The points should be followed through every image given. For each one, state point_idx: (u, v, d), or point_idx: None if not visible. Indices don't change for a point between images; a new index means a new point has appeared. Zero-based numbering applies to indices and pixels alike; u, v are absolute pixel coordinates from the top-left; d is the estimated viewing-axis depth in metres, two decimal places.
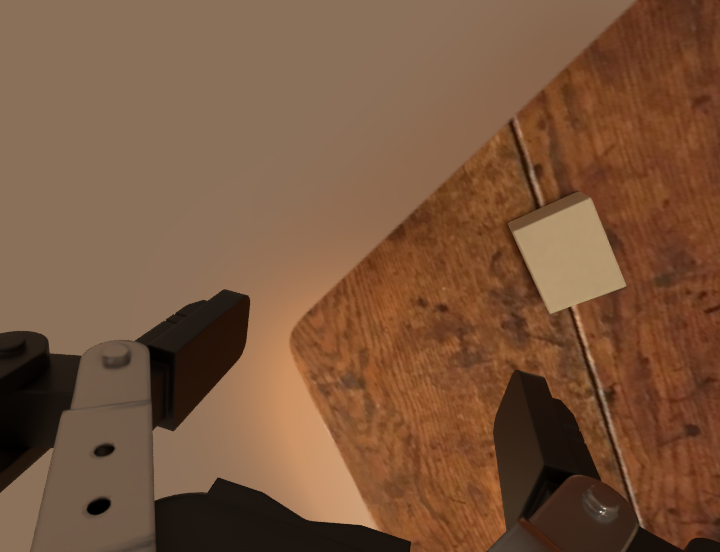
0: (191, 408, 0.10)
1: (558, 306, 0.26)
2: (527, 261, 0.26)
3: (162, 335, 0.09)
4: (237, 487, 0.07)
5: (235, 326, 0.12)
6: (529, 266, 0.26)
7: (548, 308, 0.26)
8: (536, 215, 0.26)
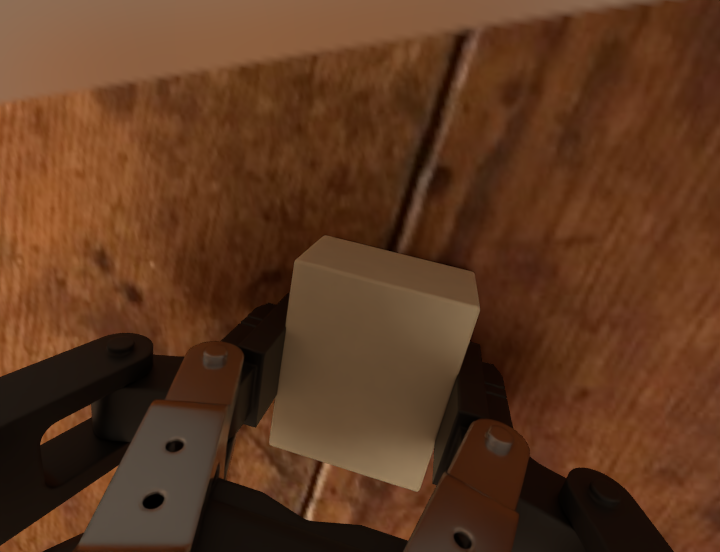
0: (267, 406, 0.11)
1: (289, 444, 0.12)
2: (287, 334, 0.11)
3: (247, 337, 0.10)
4: (237, 487, 0.07)
5: None
6: (284, 346, 0.11)
7: (271, 435, 0.12)
8: (370, 261, 0.11)
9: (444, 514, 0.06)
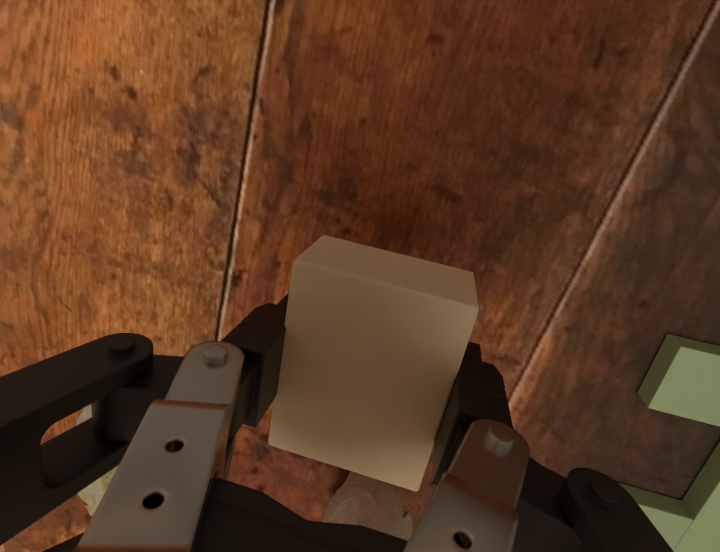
0: (267, 406, 0.11)
1: (288, 443, 0.12)
2: (286, 334, 0.11)
3: (247, 337, 0.10)
4: (237, 487, 0.07)
5: None
6: None
7: (270, 434, 0.12)
8: (369, 261, 0.11)
9: (444, 514, 0.06)
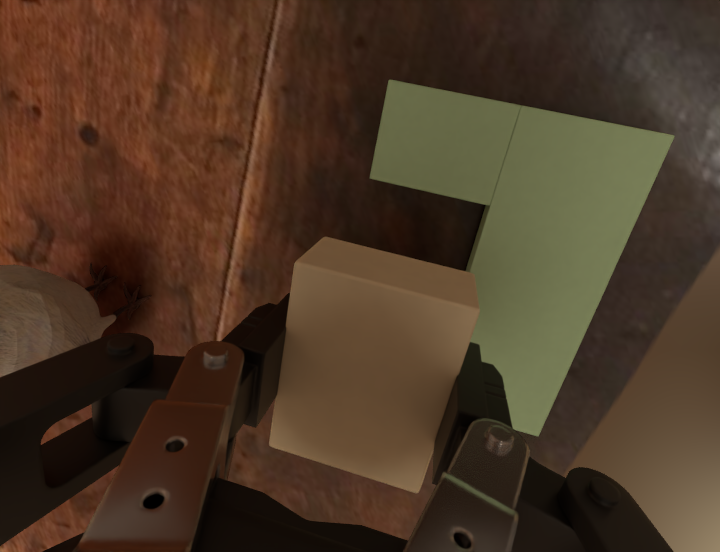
0: (268, 406, 0.11)
1: (289, 445, 0.12)
2: (287, 335, 0.11)
3: (248, 337, 0.10)
4: (237, 487, 0.07)
5: None
6: (284, 347, 0.11)
7: (271, 436, 0.12)
8: (370, 262, 0.11)
9: (444, 514, 0.06)
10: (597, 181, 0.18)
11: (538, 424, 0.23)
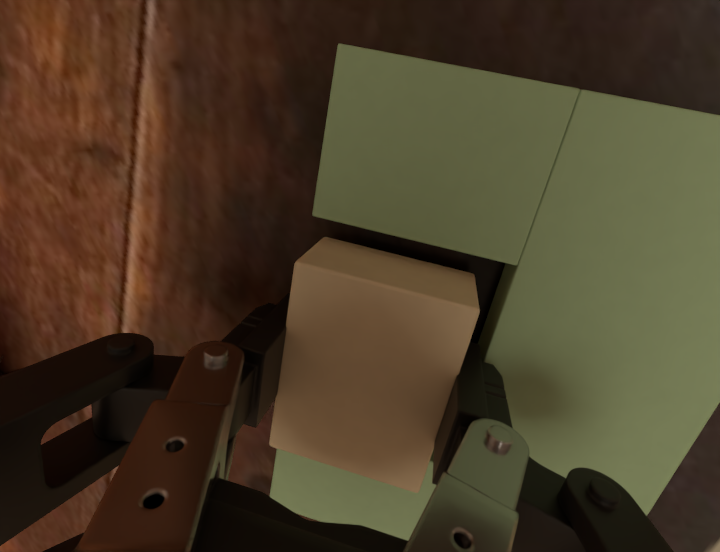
0: (268, 406, 0.11)
1: (289, 445, 0.12)
2: (287, 335, 0.11)
3: (248, 337, 0.10)
4: (237, 487, 0.07)
5: None
6: (284, 347, 0.11)
7: (271, 436, 0.12)
8: (370, 262, 0.11)
9: (444, 514, 0.06)
10: (718, 229, 0.10)
11: None
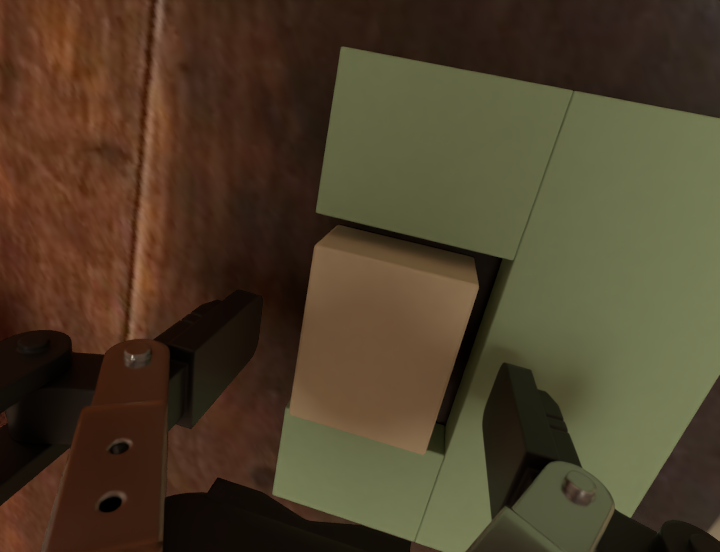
0: (207, 406, 0.11)
1: (308, 413, 0.13)
2: (307, 312, 0.12)
3: (180, 334, 0.10)
4: (237, 488, 0.06)
5: (249, 326, 0.12)
6: (304, 323, 0.12)
7: (291, 405, 0.14)
8: (380, 246, 0.12)
9: (498, 548, 0.06)
10: (705, 224, 0.10)
11: None
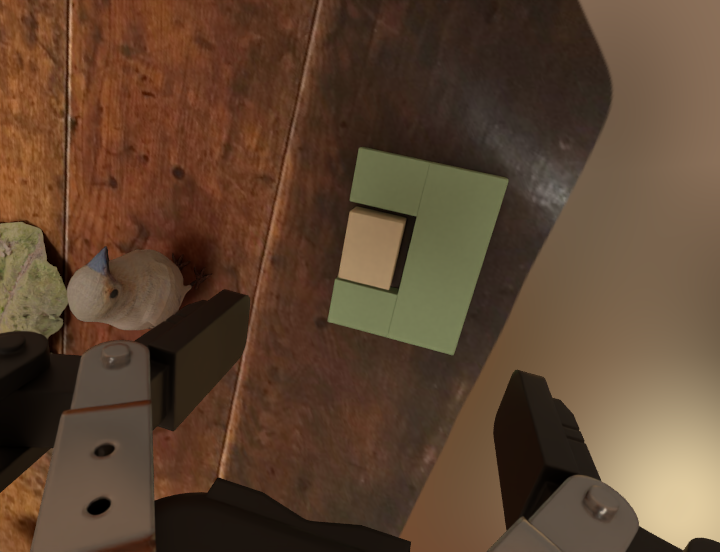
0: (191, 408, 0.10)
1: (345, 276, 0.36)
2: (346, 235, 0.35)
3: (162, 335, 0.09)
4: (237, 487, 0.07)
5: (235, 326, 0.12)
6: (345, 239, 0.35)
7: (339, 273, 0.36)
8: (372, 213, 0.35)
9: None
10: (472, 203, 0.33)
11: (452, 347, 0.37)
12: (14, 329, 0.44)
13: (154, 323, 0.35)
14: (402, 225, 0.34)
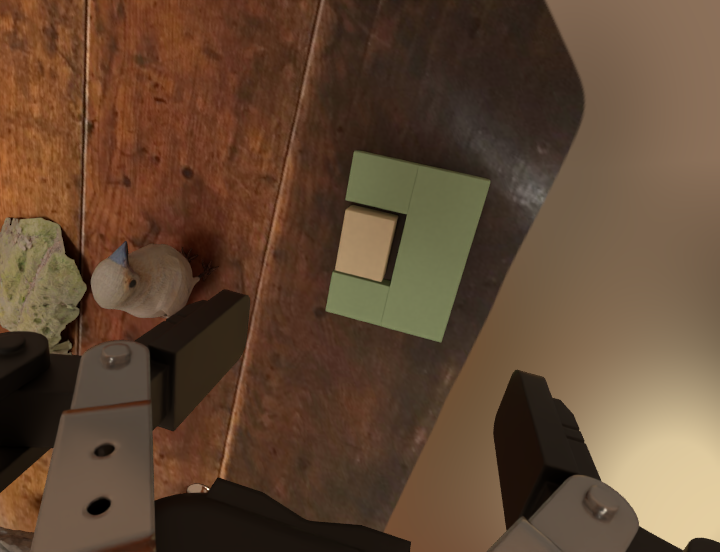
0: (191, 408, 0.10)
1: (341, 269, 0.39)
2: (342, 231, 0.38)
3: (162, 335, 0.09)
4: (237, 487, 0.07)
5: (235, 326, 0.12)
6: (341, 235, 0.38)
7: (336, 266, 0.39)
8: (366, 211, 0.38)
9: None
10: (457, 202, 0.36)
11: (440, 335, 0.41)
12: (35, 317, 0.47)
13: (166, 311, 0.39)
14: (393, 222, 0.37)
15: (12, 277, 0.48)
